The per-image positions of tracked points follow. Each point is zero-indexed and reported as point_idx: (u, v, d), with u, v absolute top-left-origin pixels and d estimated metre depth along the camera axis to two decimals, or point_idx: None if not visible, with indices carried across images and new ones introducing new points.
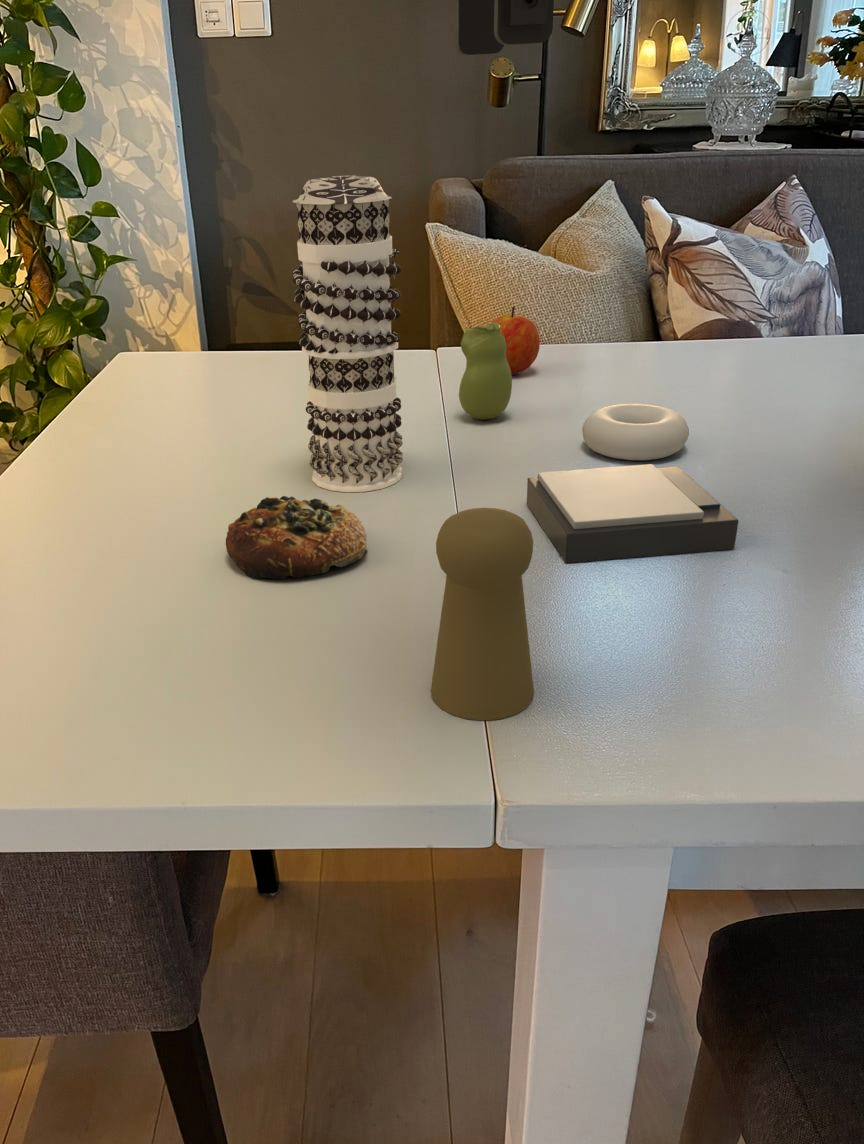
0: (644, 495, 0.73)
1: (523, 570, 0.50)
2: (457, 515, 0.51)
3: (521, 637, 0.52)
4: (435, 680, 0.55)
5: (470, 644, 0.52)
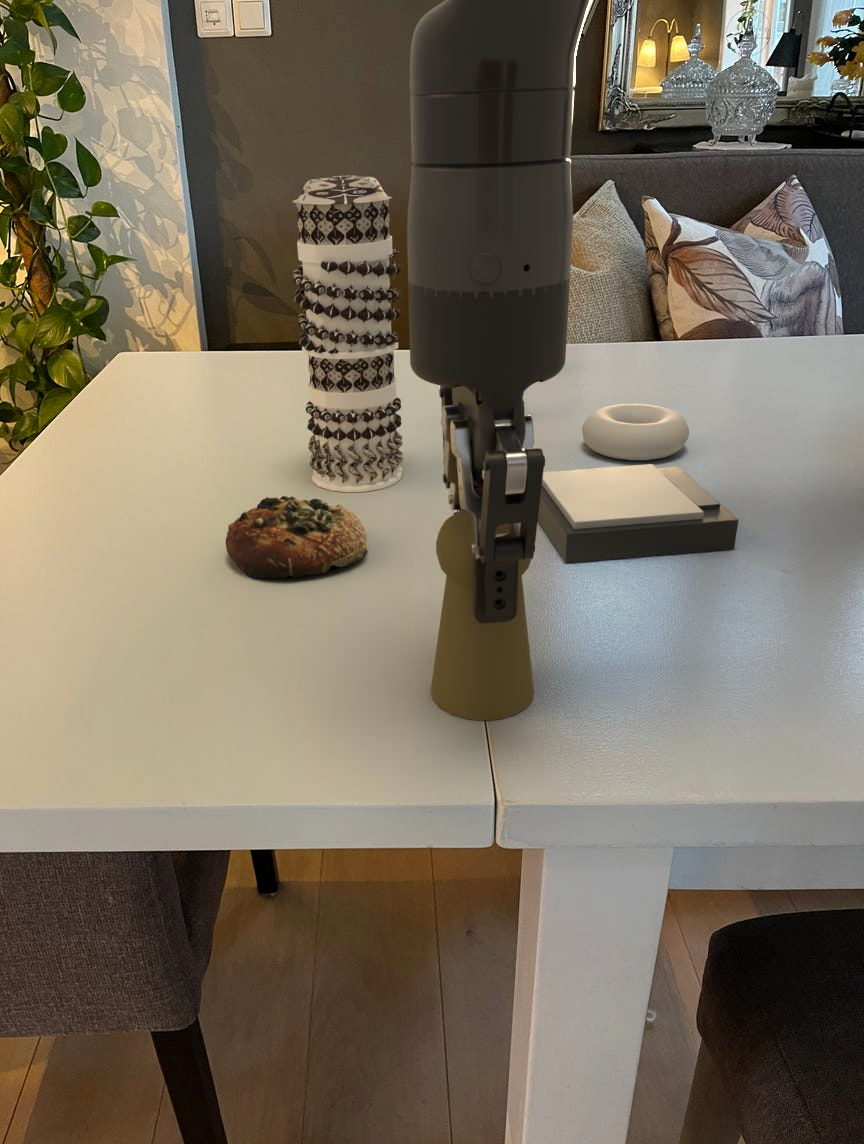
0: (644, 495, 0.73)
1: (523, 570, 0.50)
2: (457, 515, 0.51)
3: (521, 637, 0.52)
4: (435, 680, 0.55)
5: (470, 645, 0.52)
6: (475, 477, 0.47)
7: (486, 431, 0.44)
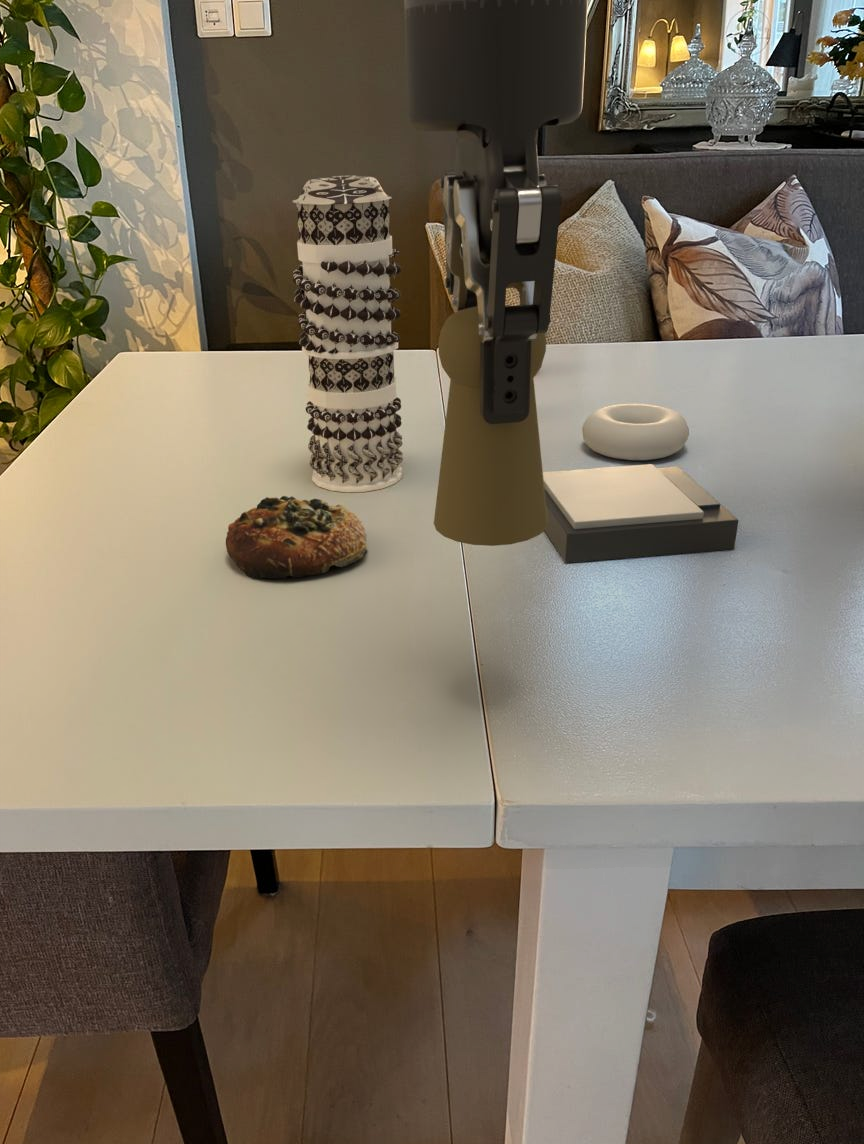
0: (644, 495, 0.73)
1: (535, 367, 0.45)
2: (461, 310, 0.46)
3: (533, 450, 0.47)
4: (439, 507, 0.50)
5: (477, 456, 0.47)
6: (481, 247, 0.42)
7: (494, 176, 0.39)
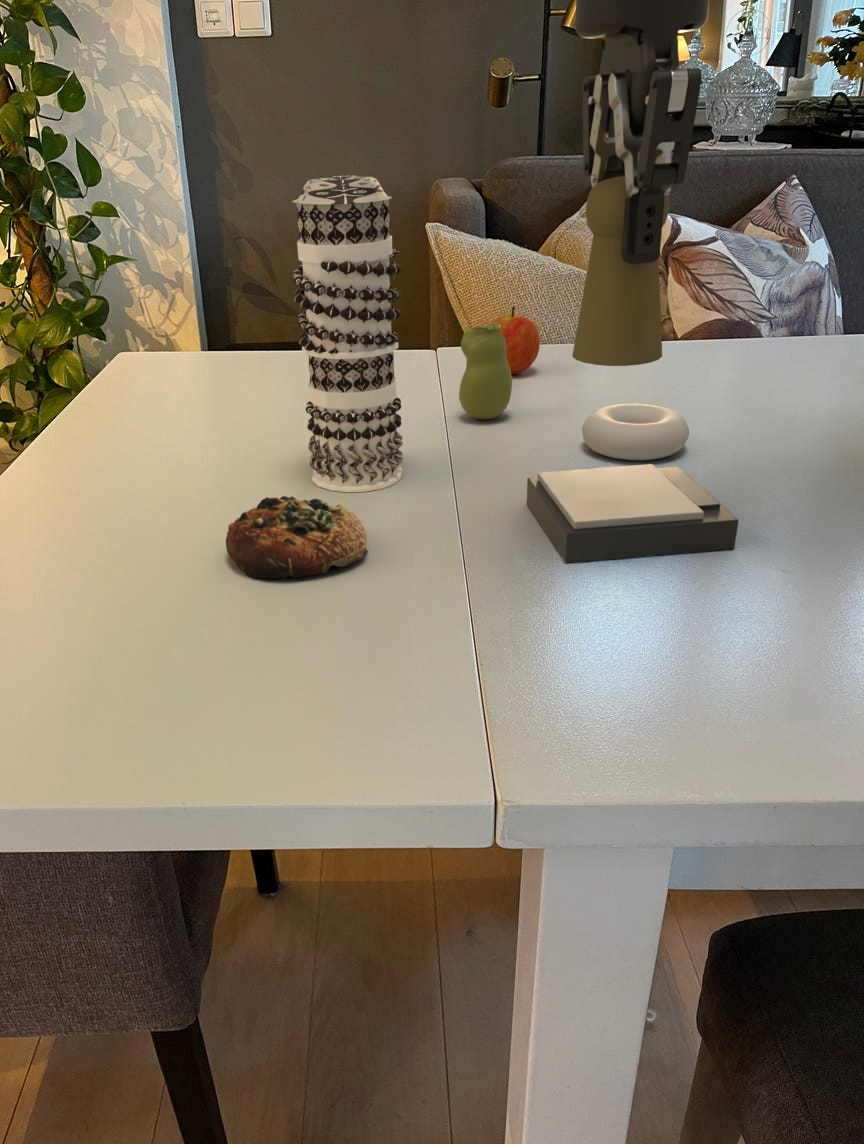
0: (644, 495, 0.73)
1: None
2: (604, 180, 0.60)
3: (656, 290, 0.62)
4: (579, 340, 0.64)
5: (616, 293, 0.61)
6: (630, 123, 0.56)
7: (648, 65, 0.53)
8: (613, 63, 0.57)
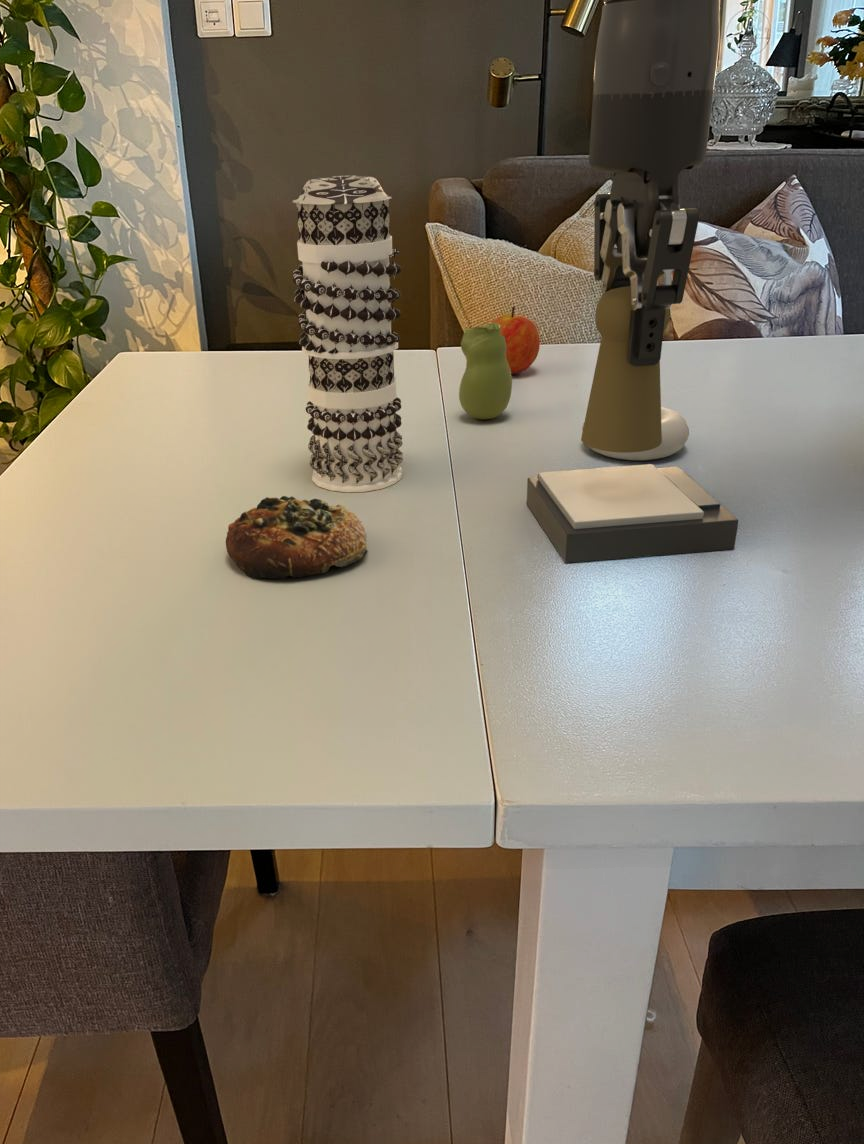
0: (644, 495, 0.73)
1: None
2: (612, 289, 0.68)
3: (657, 386, 0.69)
4: (587, 427, 0.71)
5: (621, 389, 0.68)
6: (636, 247, 0.64)
7: (652, 202, 0.61)
8: (622, 191, 0.65)
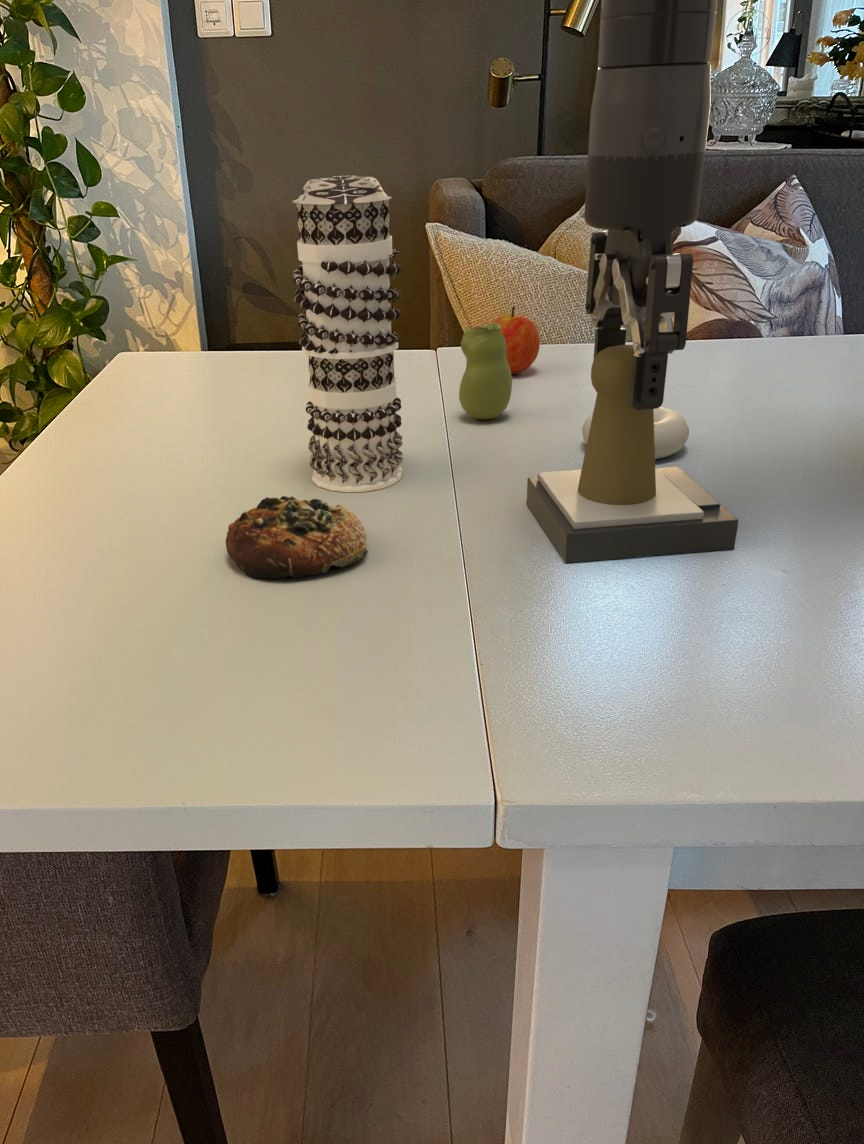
0: None
1: None
2: (607, 348, 0.70)
3: (651, 441, 0.71)
4: (583, 479, 0.73)
5: (616, 445, 0.70)
6: None
7: (646, 260, 0.62)
8: (617, 245, 0.67)
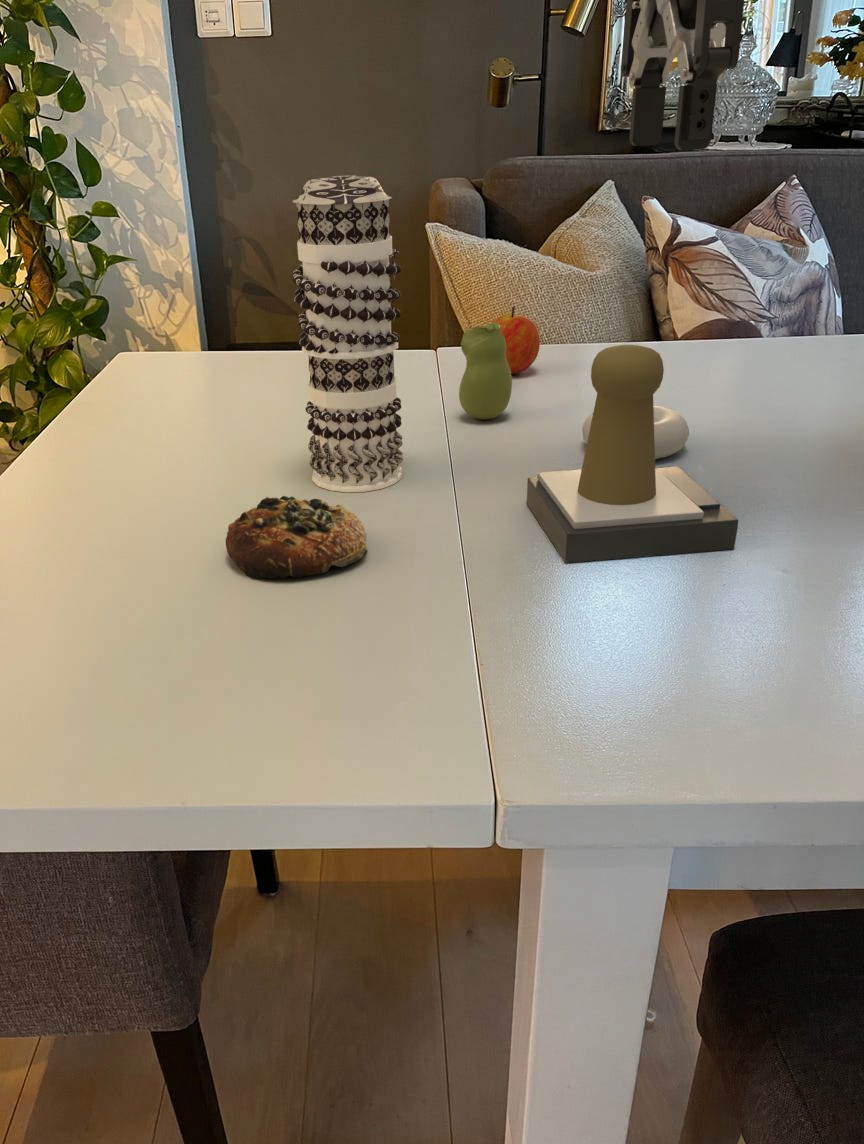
0: None
1: (657, 386, 0.69)
2: (607, 348, 0.70)
3: (651, 441, 0.71)
4: (583, 479, 0.73)
5: (616, 445, 0.70)
6: None
7: None
8: None
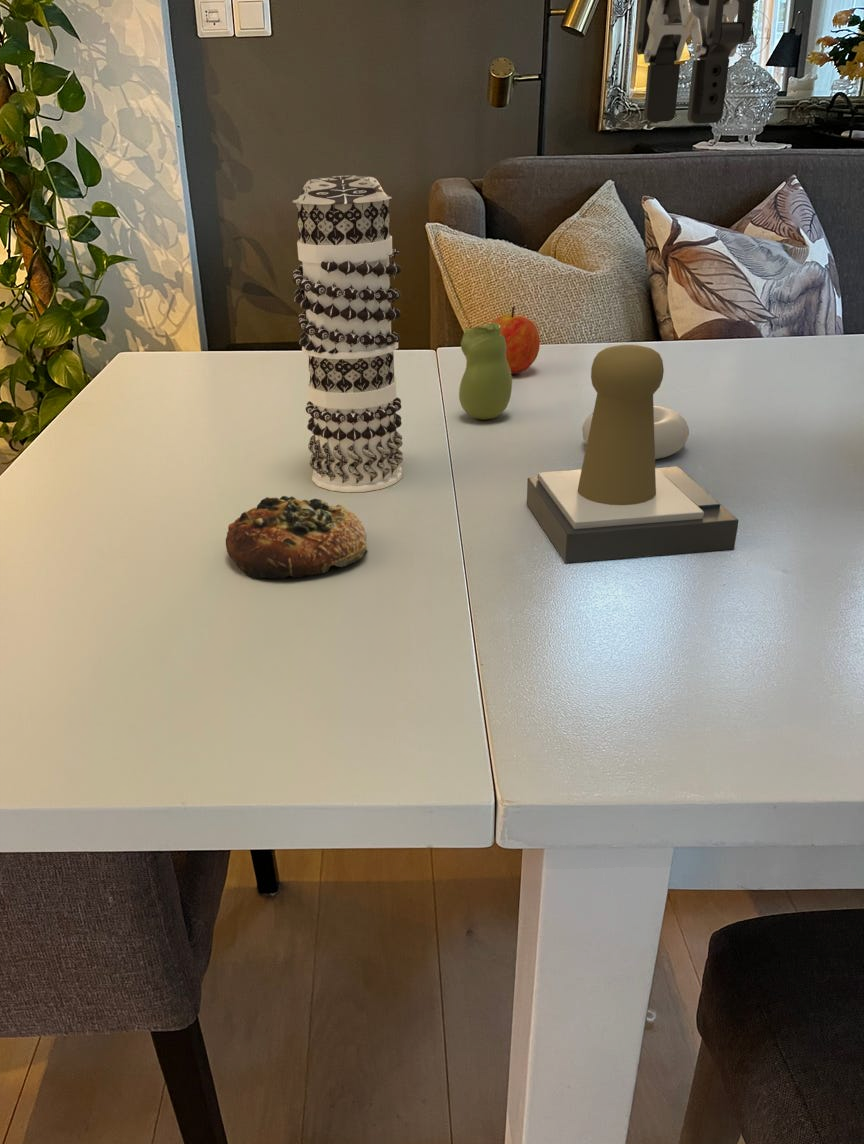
0: None
1: (657, 386, 0.69)
2: (607, 348, 0.70)
3: (651, 441, 0.71)
4: (583, 479, 0.73)
5: (616, 445, 0.70)
6: None
7: None
8: None
